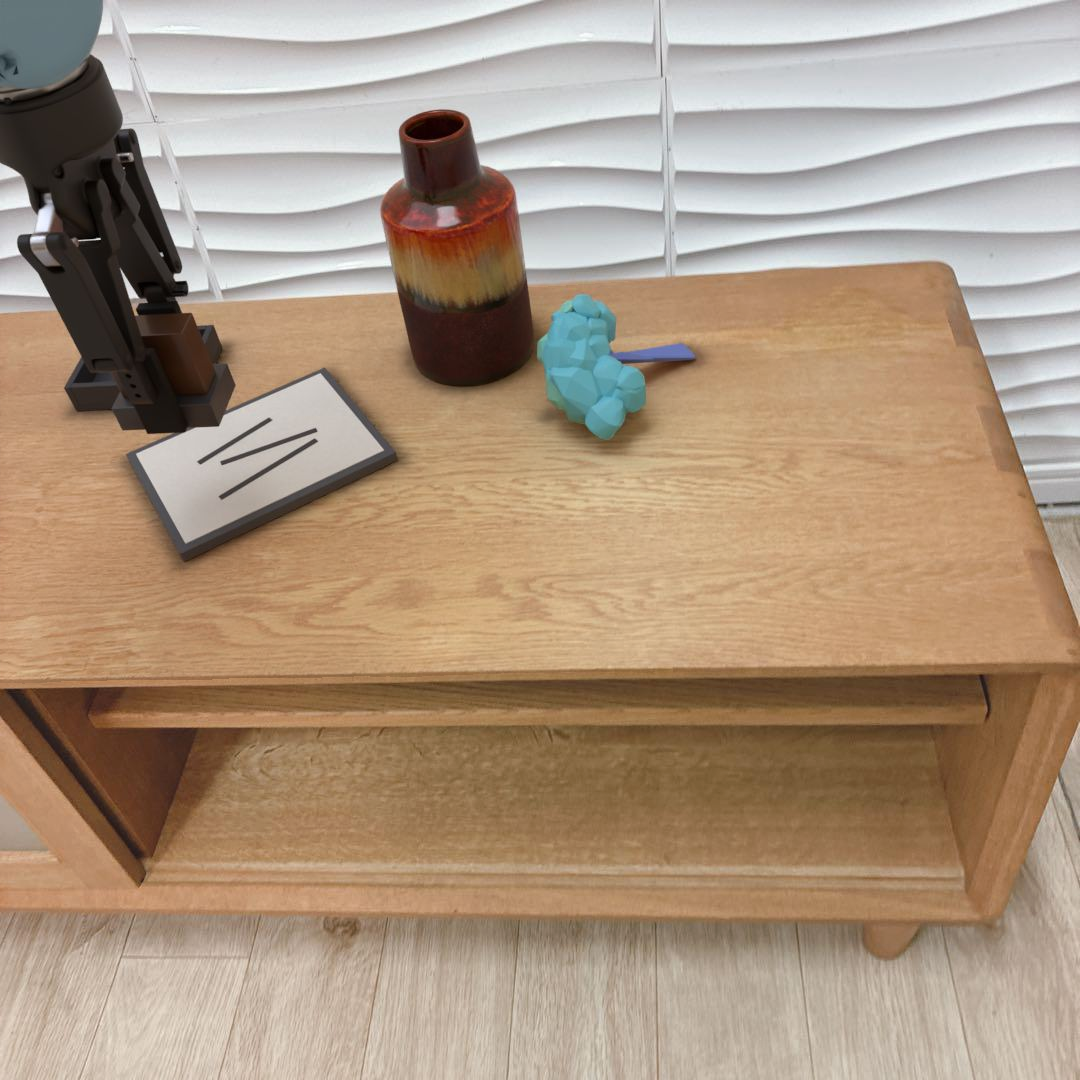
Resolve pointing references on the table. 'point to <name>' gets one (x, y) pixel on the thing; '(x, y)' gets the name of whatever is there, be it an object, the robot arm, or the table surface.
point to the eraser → (181, 372)
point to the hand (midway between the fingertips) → (178, 404)
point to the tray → (102, 387)
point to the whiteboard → (258, 462)
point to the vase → (457, 255)
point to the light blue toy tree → (595, 366)
